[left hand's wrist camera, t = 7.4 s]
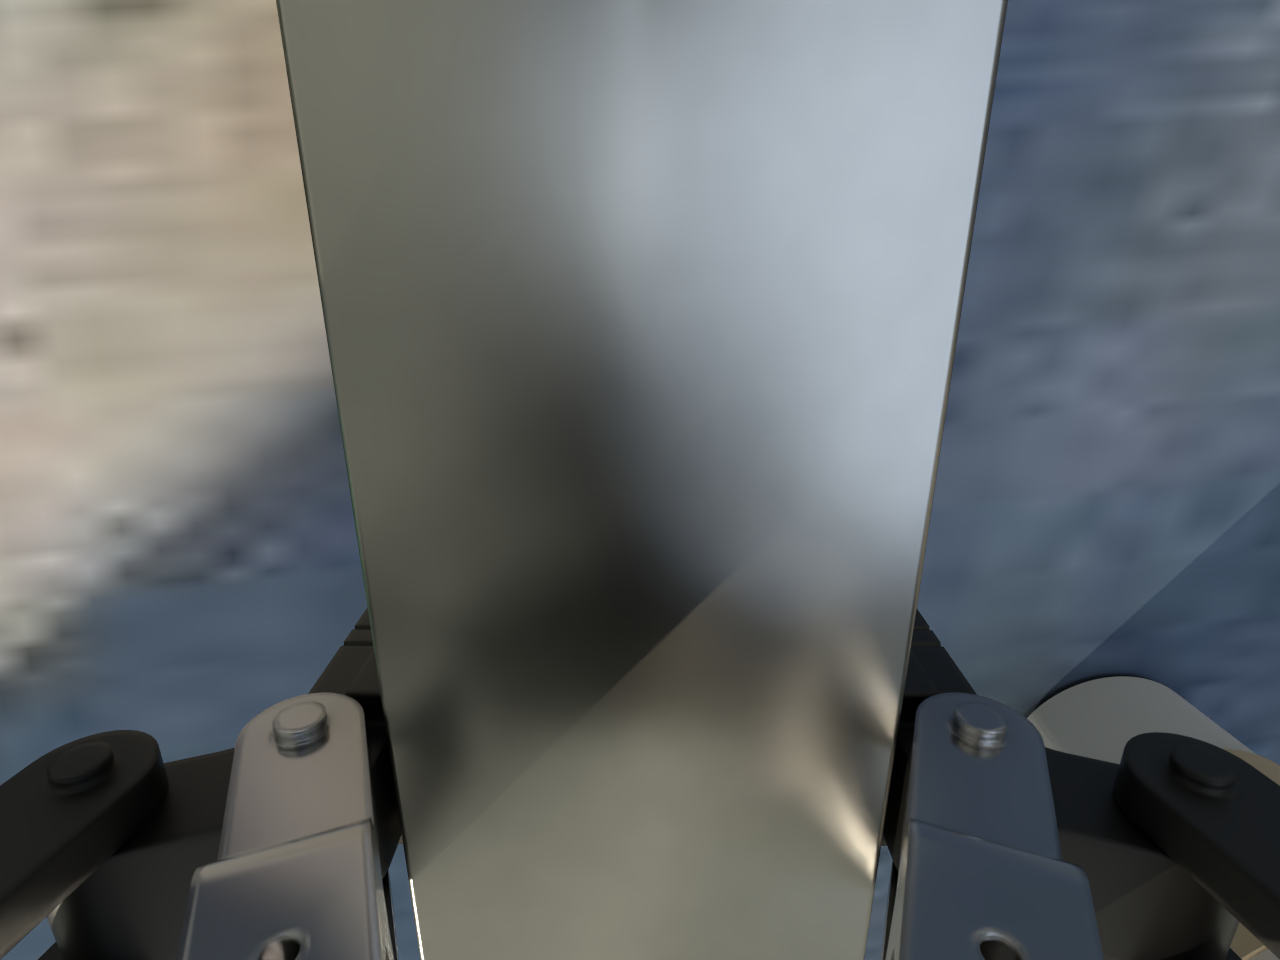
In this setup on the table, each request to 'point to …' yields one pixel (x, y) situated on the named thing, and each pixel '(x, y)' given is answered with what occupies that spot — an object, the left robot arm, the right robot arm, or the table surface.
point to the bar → (642, 440)
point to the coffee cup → (1123, 709)
